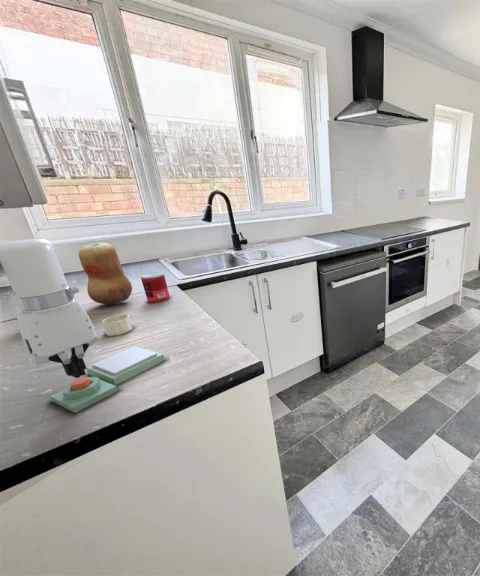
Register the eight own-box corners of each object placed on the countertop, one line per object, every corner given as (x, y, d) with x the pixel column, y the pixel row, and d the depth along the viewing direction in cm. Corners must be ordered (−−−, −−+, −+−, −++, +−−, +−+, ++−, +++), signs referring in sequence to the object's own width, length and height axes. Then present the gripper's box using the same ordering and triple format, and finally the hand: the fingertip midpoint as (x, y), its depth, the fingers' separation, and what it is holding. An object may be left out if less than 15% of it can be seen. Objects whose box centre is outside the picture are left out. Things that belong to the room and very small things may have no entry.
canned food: (173, 295, 135) (167, 271, 131) (164, 301, 128) (157, 276, 124) (154, 296, 134) (147, 272, 130) (143, 303, 126) (136, 277, 123)
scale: (115, 385, 75) (112, 376, 74) (88, 374, 80) (84, 365, 79) (165, 360, 85) (162, 352, 85) (138, 351, 90) (136, 343, 89)
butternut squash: (84, 311, 119) (60, 248, 111) (107, 299, 132) (88, 241, 124) (123, 308, 121) (103, 246, 113) (143, 296, 134) (126, 239, 126)
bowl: (113, 337, 99) (109, 324, 97) (101, 333, 102) (97, 321, 100) (136, 328, 105) (133, 316, 103) (125, 324, 107) (121, 313, 106)
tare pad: (117, 390, 73) (114, 380, 72) (75, 413, 66) (70, 401, 65) (94, 381, 77) (90, 370, 76) (51, 401, 70) (46, 390, 69)
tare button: (94, 384, 71) (91, 378, 71) (76, 392, 69) (74, 386, 68) (86, 380, 73) (84, 375, 72) (69, 388, 70) (66, 383, 69)
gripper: (81, 286, 71) (107, 355, 78) (-16, 311, 59) (24, 391, 65) (100, 290, 69) (125, 361, 75) (1, 316, 56) (41, 400, 62)
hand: (78, 374), depth 70 cm, fingers closed
